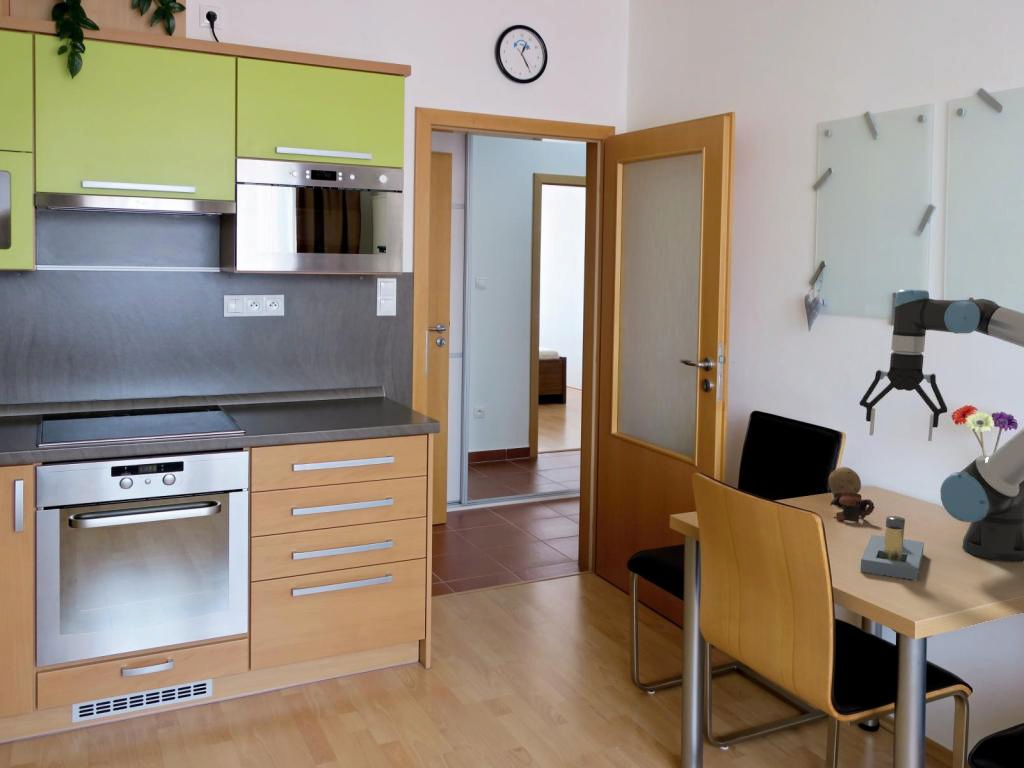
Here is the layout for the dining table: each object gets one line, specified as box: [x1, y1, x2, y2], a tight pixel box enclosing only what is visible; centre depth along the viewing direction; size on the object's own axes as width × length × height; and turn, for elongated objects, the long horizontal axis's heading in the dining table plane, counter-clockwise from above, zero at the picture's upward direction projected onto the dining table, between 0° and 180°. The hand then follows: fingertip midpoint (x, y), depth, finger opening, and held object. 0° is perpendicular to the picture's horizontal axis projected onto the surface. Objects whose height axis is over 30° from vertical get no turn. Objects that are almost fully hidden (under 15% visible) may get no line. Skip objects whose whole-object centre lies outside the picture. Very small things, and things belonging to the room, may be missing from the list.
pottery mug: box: [830, 492, 875, 523], centre depth 271 cm, size 12×10×8 cm
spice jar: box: [883, 515, 906, 562], centre depth 228 cm, size 4×4×12 cm
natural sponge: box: [828, 466, 862, 496], centre depth 289 cm, size 9×9×10 cm
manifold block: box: [859, 534, 925, 581], centre depth 233 cm, size 12×22×3 cm, turn 155°
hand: (900, 437), depth 247 cm, fingers open, 13 cm apart
